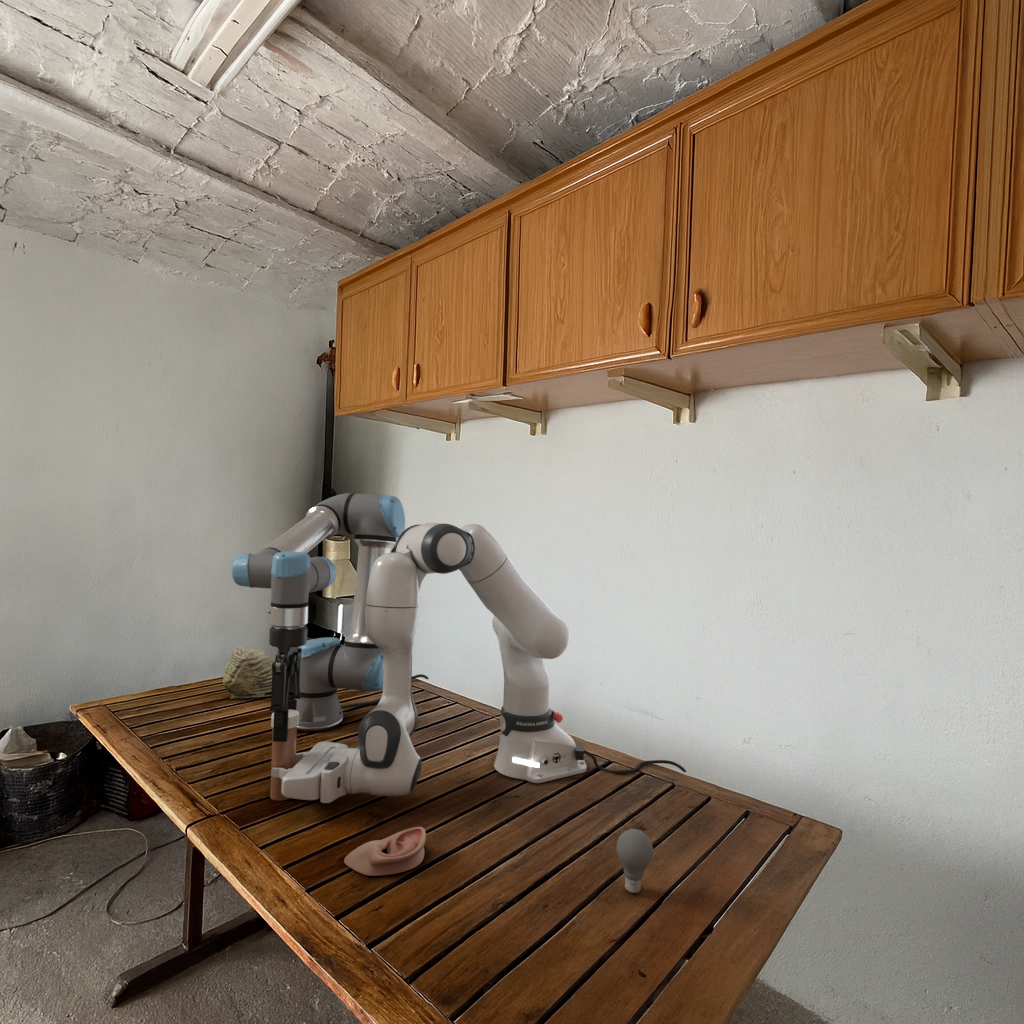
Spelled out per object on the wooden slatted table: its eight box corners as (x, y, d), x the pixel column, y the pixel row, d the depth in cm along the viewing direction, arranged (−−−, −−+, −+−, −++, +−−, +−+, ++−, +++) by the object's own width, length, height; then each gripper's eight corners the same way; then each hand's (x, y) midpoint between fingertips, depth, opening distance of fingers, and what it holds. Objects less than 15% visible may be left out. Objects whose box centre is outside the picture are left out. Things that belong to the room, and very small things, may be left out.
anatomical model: (336, 847, 108) (365, 815, 119) (335, 870, 108) (364, 836, 119) (410, 859, 105) (432, 825, 116) (409, 883, 105) (431, 846, 116)
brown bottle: (287, 801, 131) (290, 720, 131) (265, 799, 132) (268, 718, 131) (298, 791, 136) (301, 712, 136) (277, 788, 136) (280, 710, 136)
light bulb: (610, 879, 108) (613, 822, 108) (644, 879, 109) (647, 822, 109) (619, 902, 102) (622, 840, 102) (655, 901, 103) (658, 840, 103)
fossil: (218, 695, 195) (220, 647, 195) (278, 685, 208) (279, 640, 207) (228, 703, 189) (230, 653, 188) (289, 692, 201) (290, 645, 201)
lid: (291, 730, 130) (291, 719, 130) (265, 728, 131) (266, 716, 131) (303, 721, 136) (304, 710, 136) (278, 719, 137) (279, 708, 137)
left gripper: (283, 617, 142) (279, 719, 142) (255, 634, 124) (251, 752, 124) (317, 618, 142) (313, 720, 143) (294, 635, 124) (290, 753, 125)
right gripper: (359, 736, 143) (300, 732, 144) (326, 775, 123) (257, 770, 124) (358, 764, 143) (298, 759, 144) (325, 807, 123) (256, 802, 124)
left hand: (284, 735), depth 133 cm, fingers closed on lid, 5 cm apart
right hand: (279, 764), depth 134 cm, fingers closed on brown bottle, 5 cm apart
